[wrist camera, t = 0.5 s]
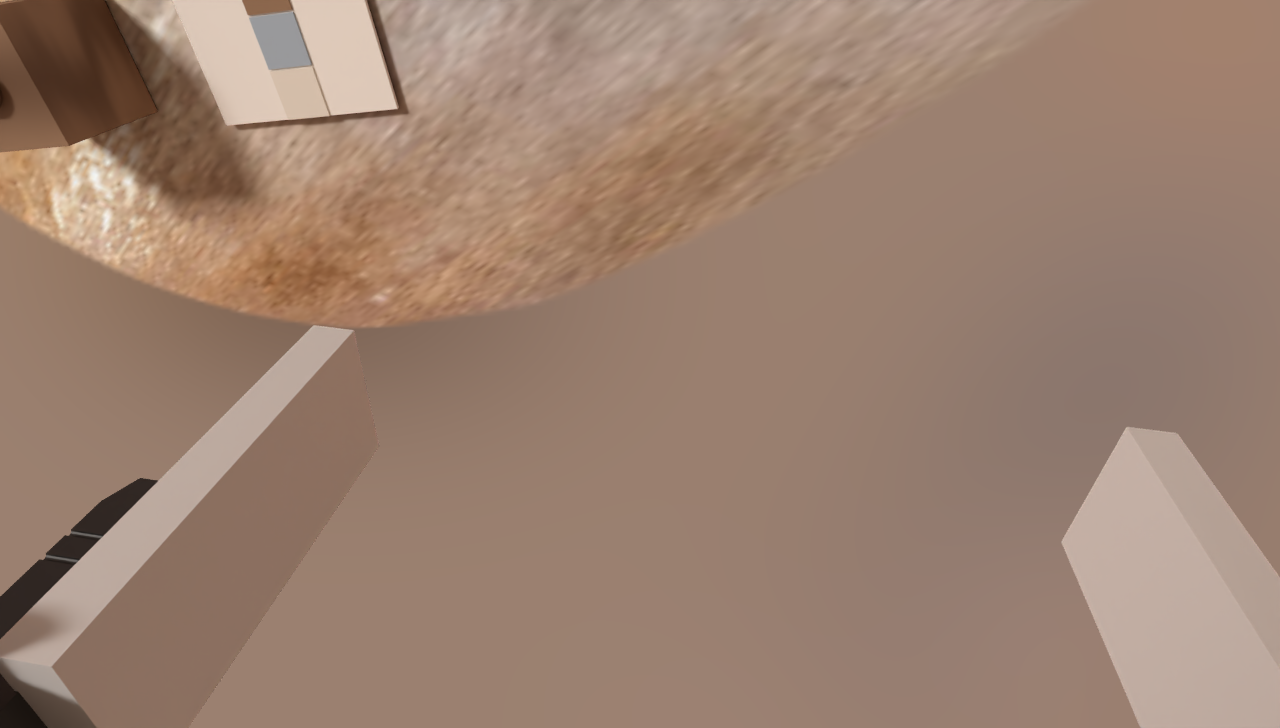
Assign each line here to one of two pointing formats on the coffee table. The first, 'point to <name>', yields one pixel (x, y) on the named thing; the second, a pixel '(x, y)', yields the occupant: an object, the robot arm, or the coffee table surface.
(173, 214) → the coffee table surface
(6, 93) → the walnut base brick
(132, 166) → the coffee table surface
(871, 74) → the coffee table surface
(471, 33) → the coffee table surface
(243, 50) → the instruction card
